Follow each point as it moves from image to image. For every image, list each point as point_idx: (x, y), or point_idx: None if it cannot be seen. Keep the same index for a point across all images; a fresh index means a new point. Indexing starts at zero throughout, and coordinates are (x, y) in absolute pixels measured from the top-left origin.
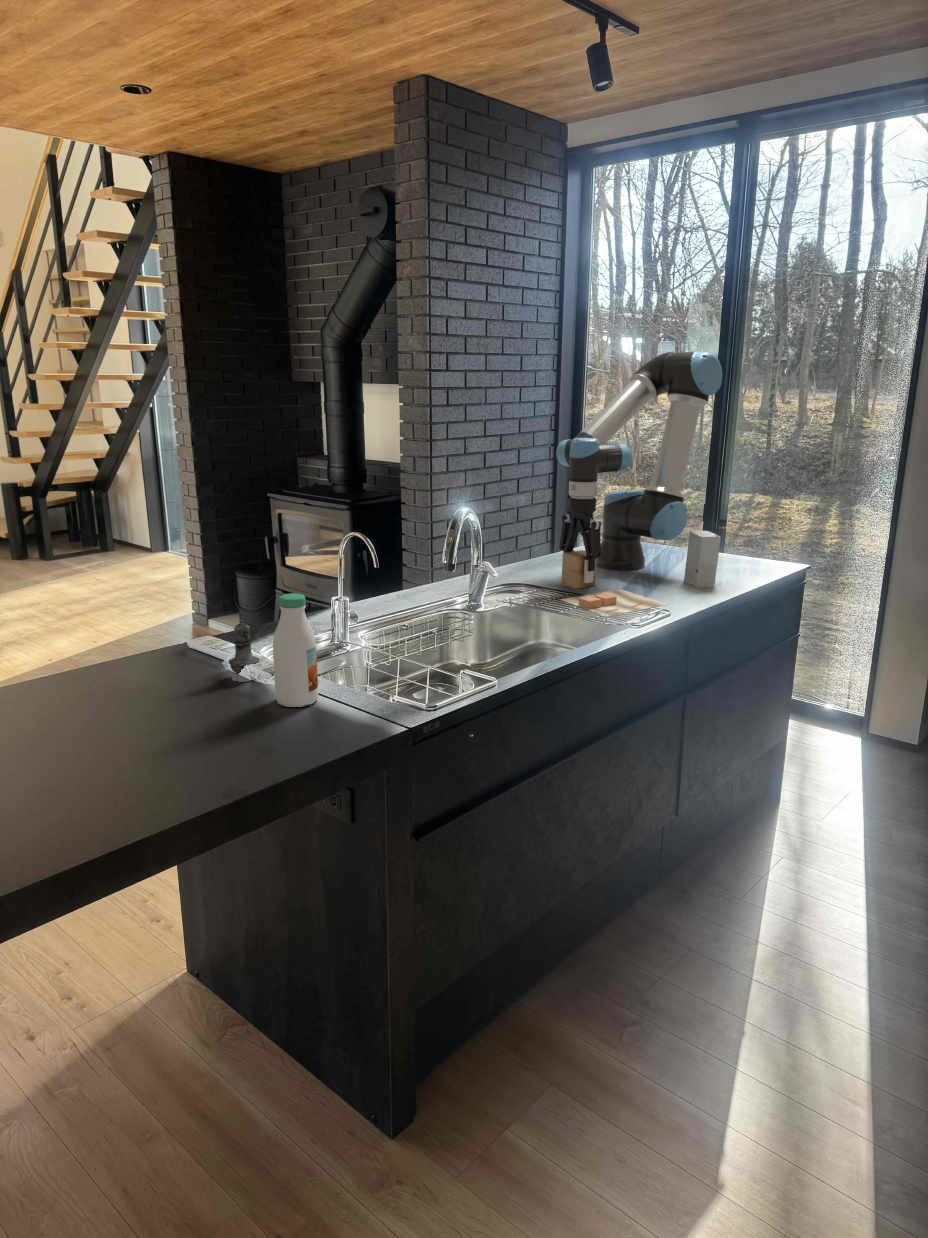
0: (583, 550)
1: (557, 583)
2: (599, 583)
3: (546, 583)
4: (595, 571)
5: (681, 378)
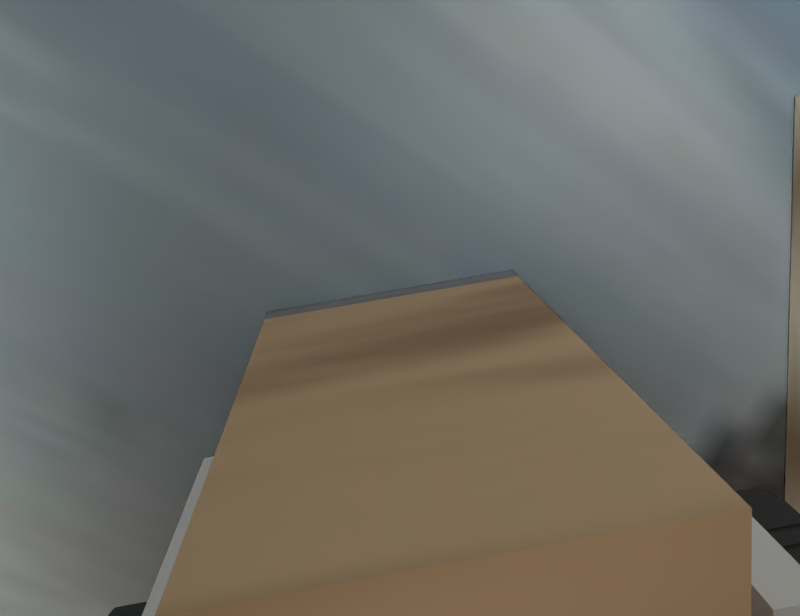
0: (201, 608)
1: (128, 511)
2: (280, 55)
3: (97, 606)
4: (582, 345)
5: None
